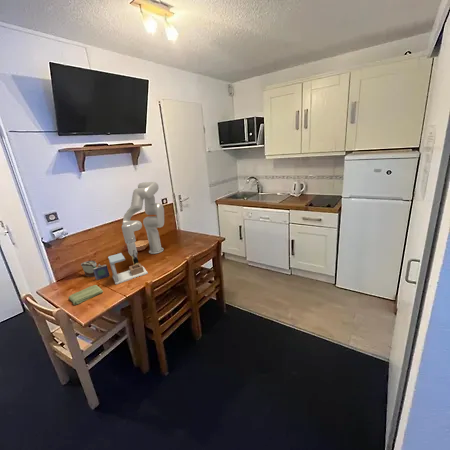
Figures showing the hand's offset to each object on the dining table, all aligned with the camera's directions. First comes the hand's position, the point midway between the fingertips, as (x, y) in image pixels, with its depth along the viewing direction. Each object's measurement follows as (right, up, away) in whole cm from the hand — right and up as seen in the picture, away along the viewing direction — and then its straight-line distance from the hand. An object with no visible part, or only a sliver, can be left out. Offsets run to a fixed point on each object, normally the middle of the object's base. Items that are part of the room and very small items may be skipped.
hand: (135, 262), depth 191 cm
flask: (-20, -10, -10) cm, 25 cm away
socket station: (0, -8, -10) cm, 13 cm away
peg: (0, -4, +1) cm, 4 cm away
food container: (-31, -9, -2) cm, 32 cm away
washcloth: (-20, -18, -31) cm, 41 cm away
